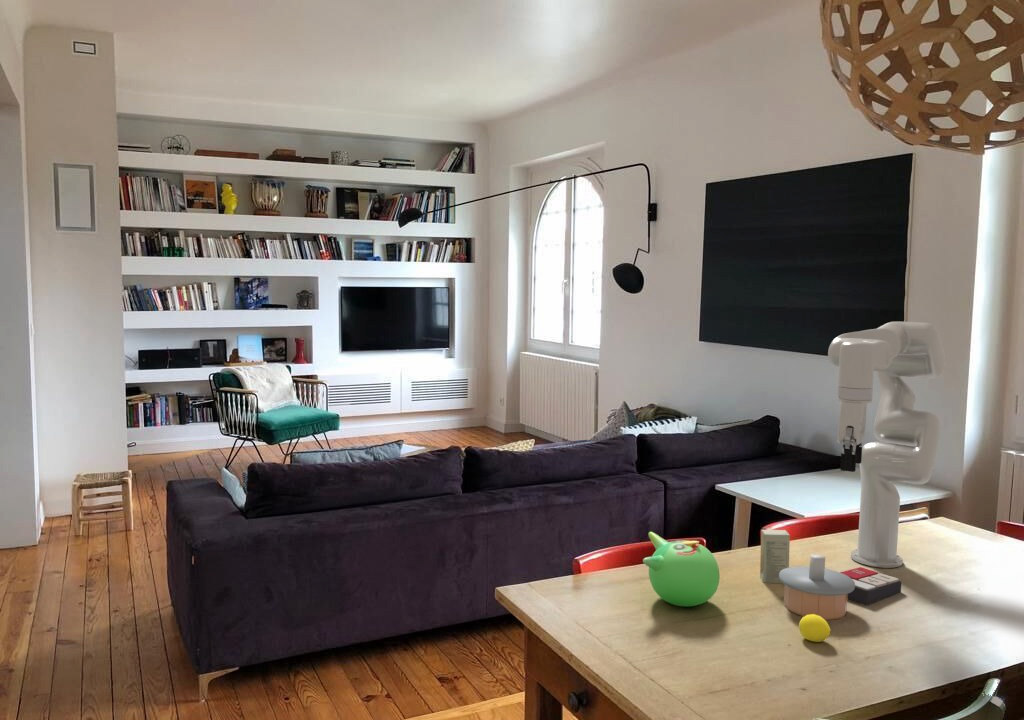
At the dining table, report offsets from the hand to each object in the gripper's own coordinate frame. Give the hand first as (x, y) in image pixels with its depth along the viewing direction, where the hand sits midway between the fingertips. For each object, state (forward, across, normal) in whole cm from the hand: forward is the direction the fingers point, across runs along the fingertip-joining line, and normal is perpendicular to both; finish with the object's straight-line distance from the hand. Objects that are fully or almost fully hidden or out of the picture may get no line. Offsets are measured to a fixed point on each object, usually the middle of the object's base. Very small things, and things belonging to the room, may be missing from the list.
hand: (850, 466), depth 194 cm
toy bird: (+30, +28, -31) cm, 52 cm away
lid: (+24, +15, -4) cm, 28 cm away
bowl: (+30, +15, -4) cm, 34 cm away
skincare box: (+30, +2, -16) cm, 34 cm away
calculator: (+31, -2, +4) cm, 31 cm away
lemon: (+30, +33, -1) cm, 45 cm away
